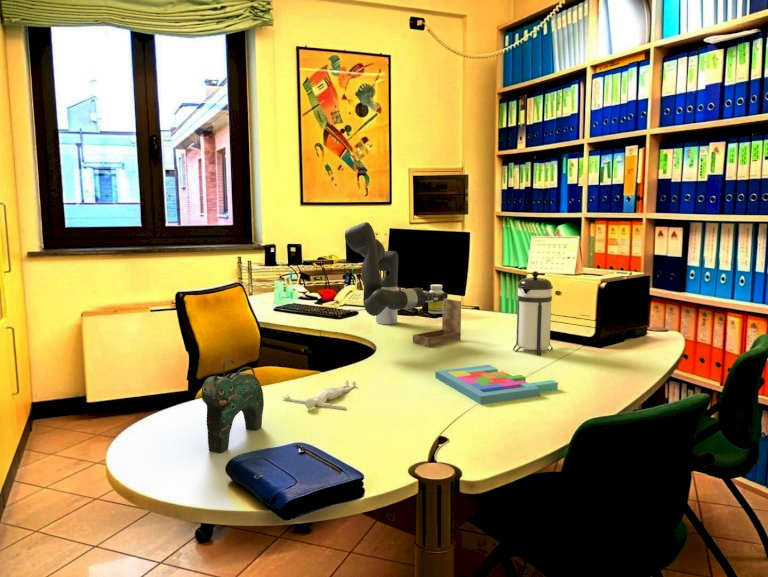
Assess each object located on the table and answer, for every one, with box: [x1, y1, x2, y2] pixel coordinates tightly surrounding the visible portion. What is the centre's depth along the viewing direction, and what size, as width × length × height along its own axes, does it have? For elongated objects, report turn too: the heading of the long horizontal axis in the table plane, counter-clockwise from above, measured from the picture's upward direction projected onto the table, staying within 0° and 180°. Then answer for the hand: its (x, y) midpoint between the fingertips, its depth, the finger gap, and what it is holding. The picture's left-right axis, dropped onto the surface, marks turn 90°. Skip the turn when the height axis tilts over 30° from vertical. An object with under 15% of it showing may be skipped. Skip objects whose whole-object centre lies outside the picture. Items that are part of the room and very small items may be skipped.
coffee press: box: [512, 270, 554, 356], centre depth 231 cm, size 17×16×30 cm
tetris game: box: [434, 364, 559, 405], centre depth 189 cm, size 28×3×28 cm
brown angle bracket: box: [412, 298, 462, 348], centre depth 246 cm, size 9×18×16 cm, turn 132°
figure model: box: [282, 380, 357, 411], centre depth 178 cm, size 21×4×25 cm
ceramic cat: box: [201, 358, 265, 454], centre depth 145 cm, size 20×6×20 cm, turn 158°
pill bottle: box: [427, 284, 445, 315], centre depth 245 cm, size 6×6×11 cm
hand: (440, 294), depth 246 cm, fingers closed on pill bottle, 6 cm apart
